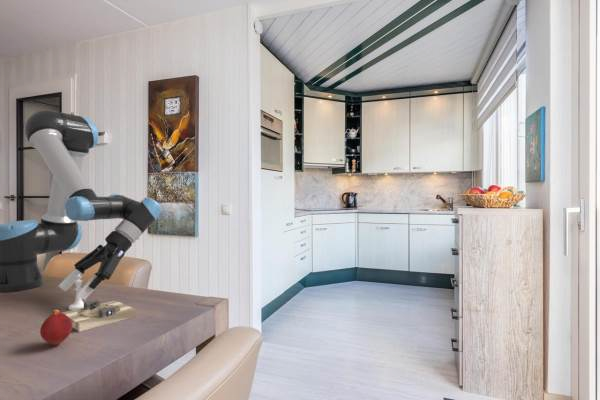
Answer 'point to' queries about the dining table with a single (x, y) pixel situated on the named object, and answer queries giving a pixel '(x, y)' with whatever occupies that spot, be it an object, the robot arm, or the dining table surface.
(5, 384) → the dining table surface
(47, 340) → the onion
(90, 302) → the socket plate
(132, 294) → the dining table surface
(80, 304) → the chess piece
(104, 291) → the dining table surface
